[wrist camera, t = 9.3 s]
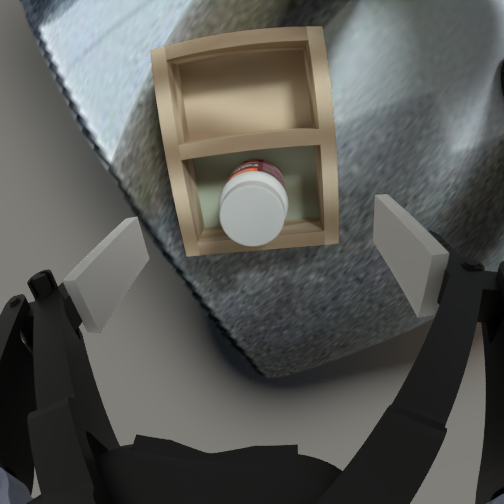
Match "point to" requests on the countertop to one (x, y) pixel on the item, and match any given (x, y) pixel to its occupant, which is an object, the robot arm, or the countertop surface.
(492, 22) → the countertop surface
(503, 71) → the coffee jar
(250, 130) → the divided wooden tray
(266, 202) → the pill bottle
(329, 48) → the countertop surface
